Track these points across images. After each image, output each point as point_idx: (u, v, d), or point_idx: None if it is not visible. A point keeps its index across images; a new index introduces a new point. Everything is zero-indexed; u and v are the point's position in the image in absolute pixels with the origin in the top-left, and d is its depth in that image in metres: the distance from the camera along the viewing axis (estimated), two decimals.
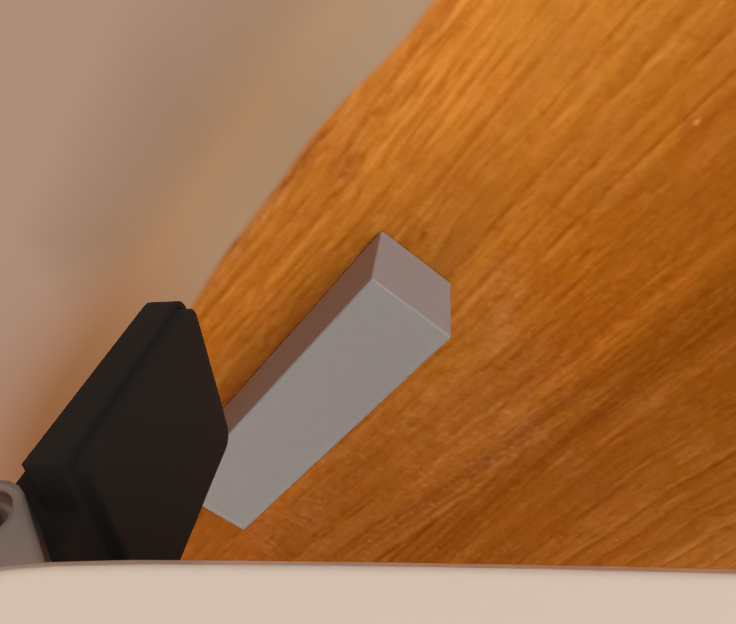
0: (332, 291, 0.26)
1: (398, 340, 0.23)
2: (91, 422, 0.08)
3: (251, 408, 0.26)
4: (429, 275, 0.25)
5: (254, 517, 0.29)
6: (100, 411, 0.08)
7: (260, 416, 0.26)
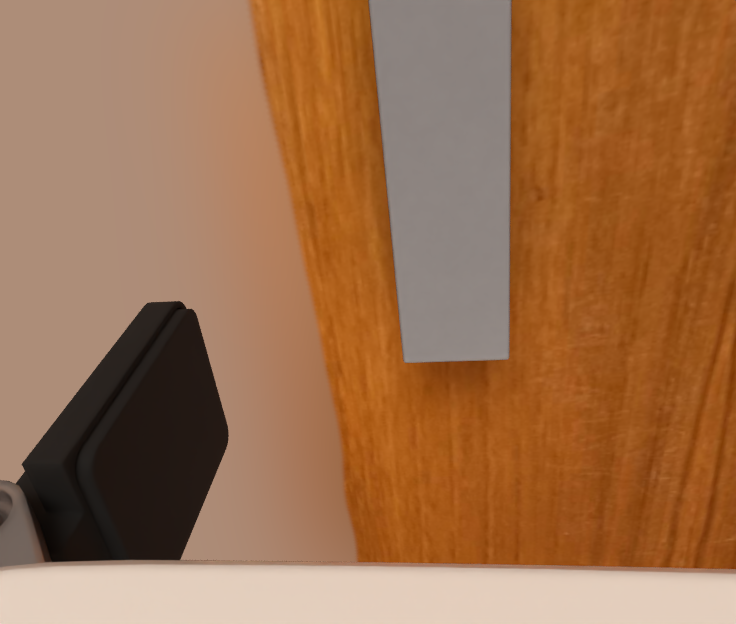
0: None
1: None
2: (90, 422, 0.08)
3: (387, 192, 0.19)
4: None
5: (505, 333, 0.22)
6: (100, 411, 0.08)
7: (404, 193, 0.19)
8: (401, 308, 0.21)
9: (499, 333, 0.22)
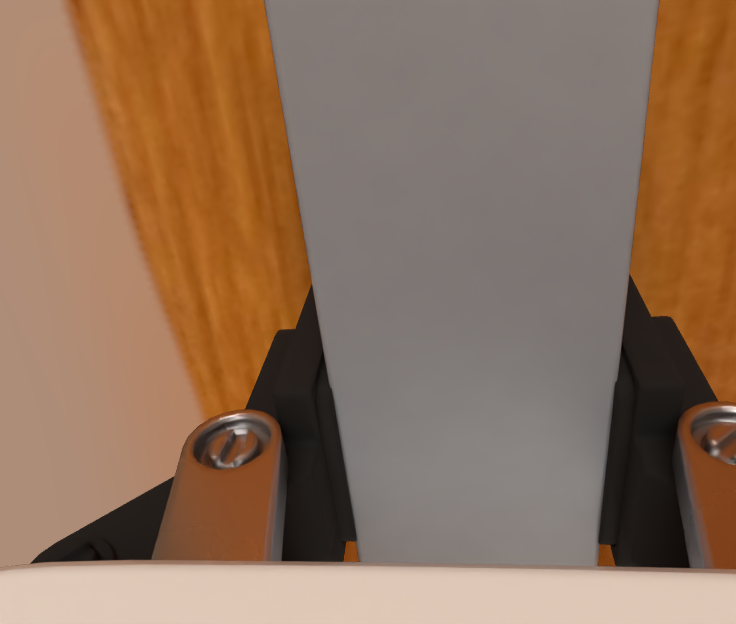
0: None
1: (508, 19, 0.06)
2: (320, 359, 0.09)
3: None
4: None
5: None
6: (322, 350, 0.09)
7: (383, 510, 0.09)
8: None
9: None
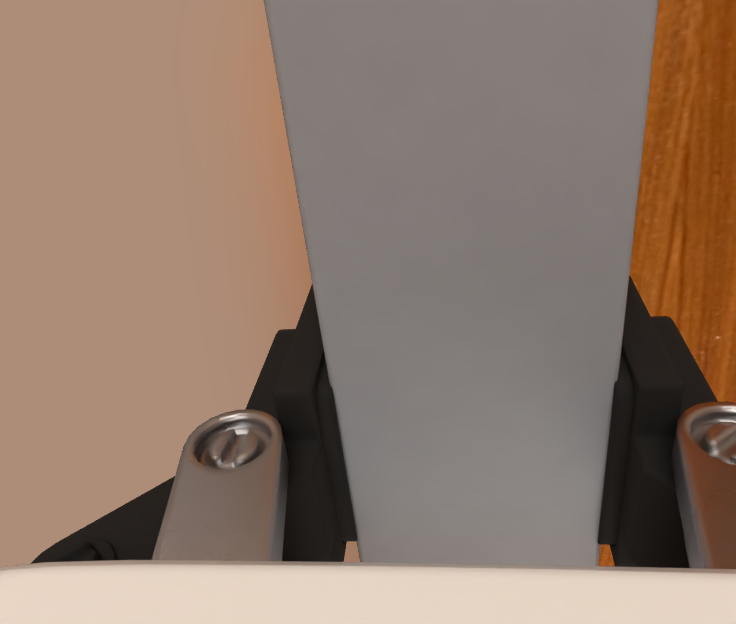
0: None
1: (508, 20, 0.06)
2: (320, 359, 0.09)
3: None
4: None
5: None
6: (322, 350, 0.09)
7: (385, 511, 0.10)
8: None
9: None
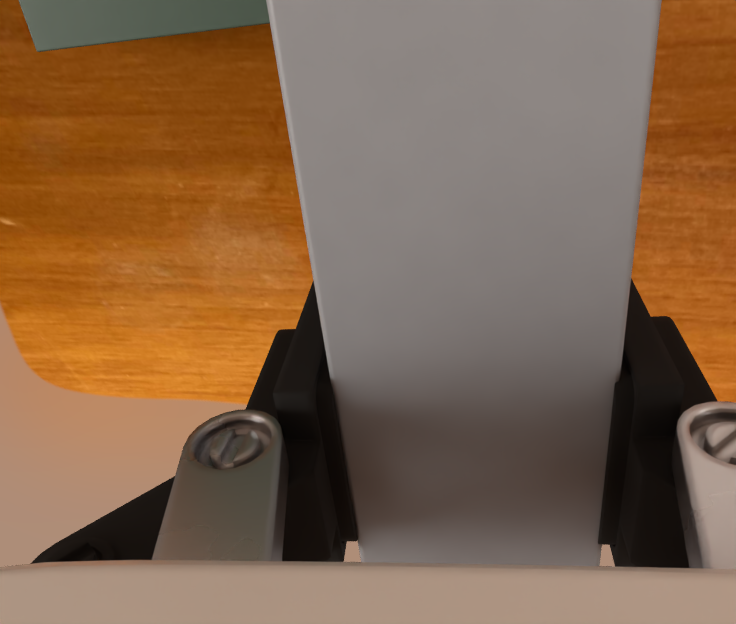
0: None
1: (511, 21, 0.06)
2: (320, 359, 0.09)
3: None
4: None
5: None
6: (323, 350, 0.09)
7: (385, 512, 0.10)
8: None
9: None
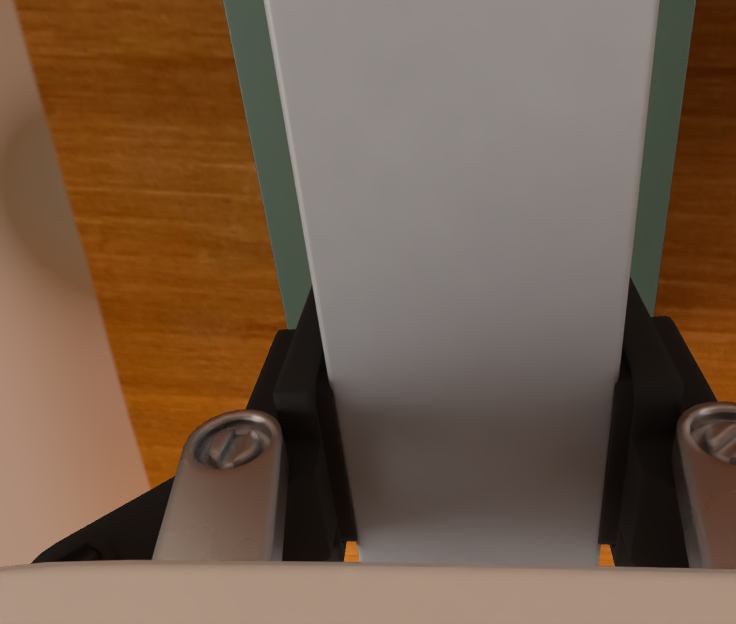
0: None
1: (509, 18, 0.06)
2: (320, 359, 0.09)
3: None
4: None
5: None
6: (322, 350, 0.09)
7: (384, 511, 0.09)
8: None
9: None
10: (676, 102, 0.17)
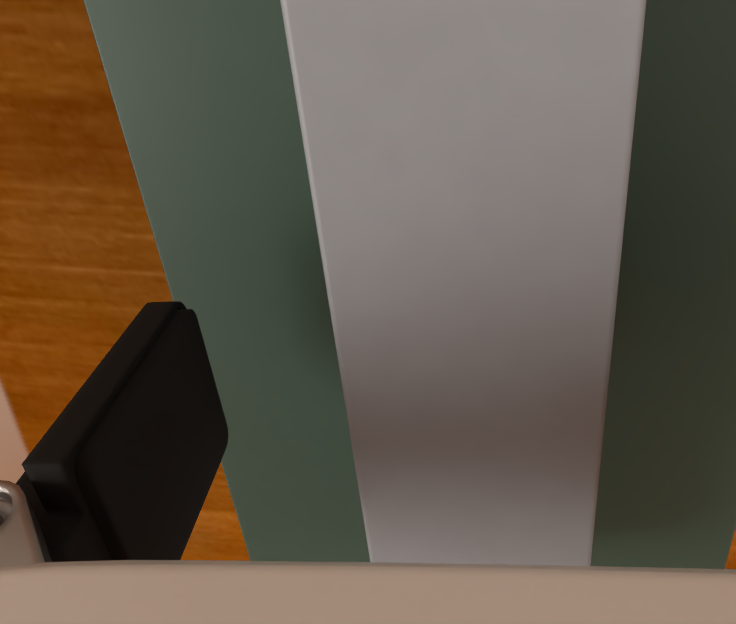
0: None
1: None
2: (91, 422, 0.08)
3: (356, 470, 0.10)
4: None
5: None
6: (100, 411, 0.08)
7: (389, 477, 0.10)
8: None
9: None
10: None
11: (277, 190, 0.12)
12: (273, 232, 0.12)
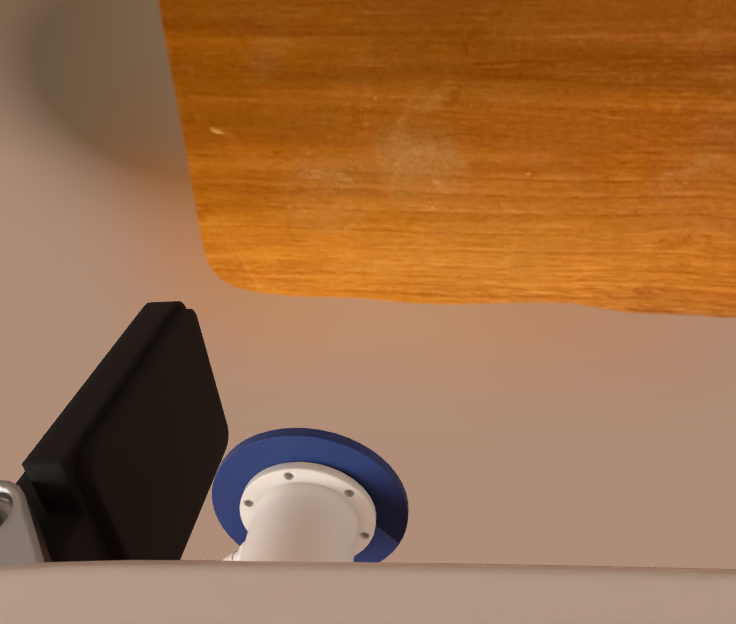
0: None
1: None
2: (91, 422, 0.08)
3: None
4: None
5: None
6: (100, 411, 0.08)
7: None
8: None
9: None
10: None
11: None
12: None
